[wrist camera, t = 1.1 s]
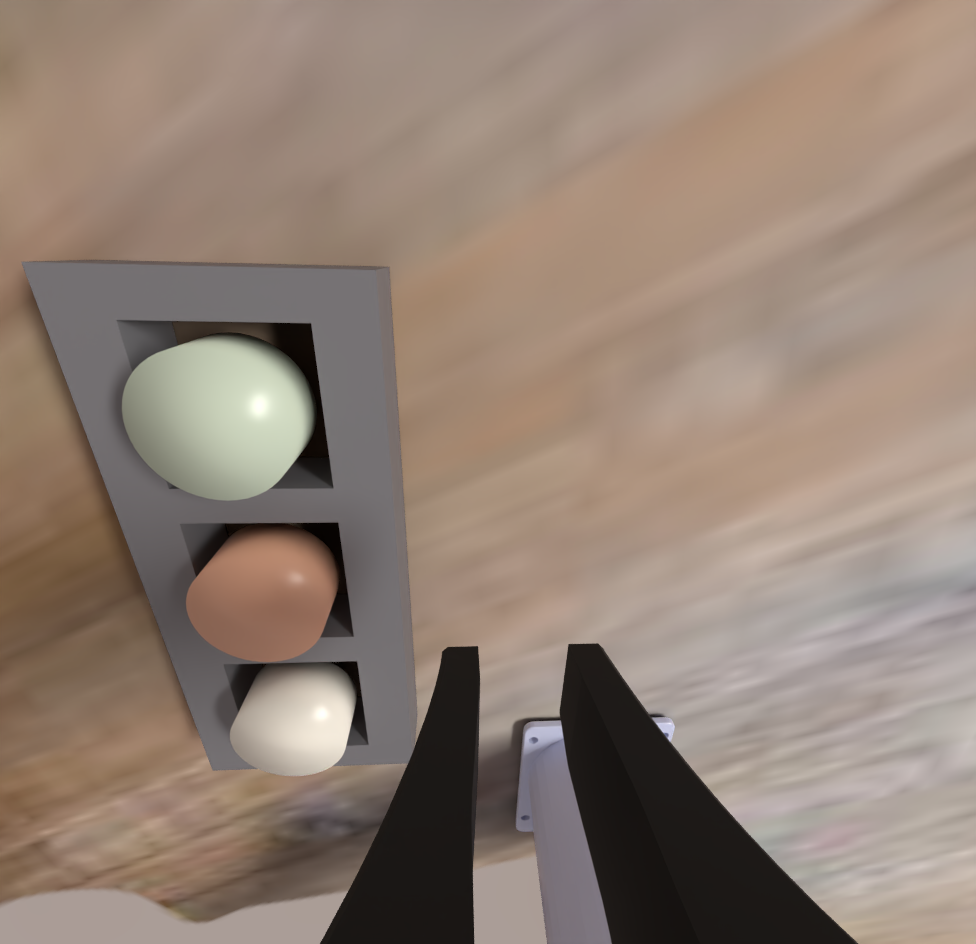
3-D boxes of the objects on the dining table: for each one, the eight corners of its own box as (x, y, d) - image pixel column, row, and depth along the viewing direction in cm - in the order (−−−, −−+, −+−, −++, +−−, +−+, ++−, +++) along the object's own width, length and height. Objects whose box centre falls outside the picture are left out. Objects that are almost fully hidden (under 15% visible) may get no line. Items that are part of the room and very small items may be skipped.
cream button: (361, 724, 21) (351, 774, 19) (263, 728, 21) (242, 778, 19) (351, 654, 19) (339, 701, 17) (243, 657, 19) (217, 704, 17)
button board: (417, 714, 24) (412, 763, 21) (237, 719, 23) (212, 770, 21) (389, 266, 15) (375, 270, 12) (91, 259, 14) (20, 261, 12)
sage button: (325, 468, 16) (305, 500, 14) (190, 468, 15) (149, 500, 13) (306, 333, 14) (279, 348, 12) (151, 331, 13) (97, 345, 11)
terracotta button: (346, 616, 18) (332, 660, 16) (232, 618, 18) (204, 663, 16) (332, 521, 16) (315, 559, 14) (205, 522, 16) (169, 560, 14)
